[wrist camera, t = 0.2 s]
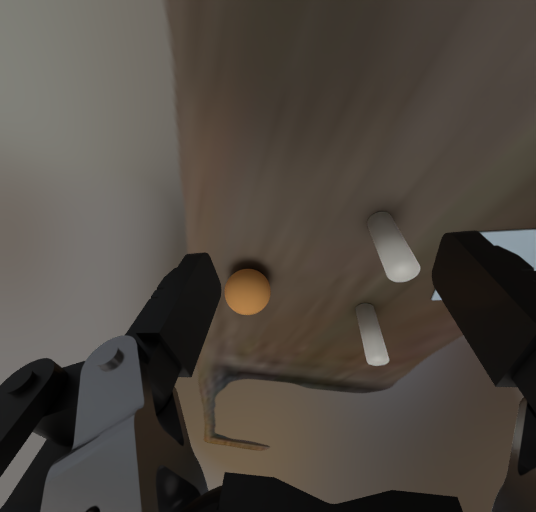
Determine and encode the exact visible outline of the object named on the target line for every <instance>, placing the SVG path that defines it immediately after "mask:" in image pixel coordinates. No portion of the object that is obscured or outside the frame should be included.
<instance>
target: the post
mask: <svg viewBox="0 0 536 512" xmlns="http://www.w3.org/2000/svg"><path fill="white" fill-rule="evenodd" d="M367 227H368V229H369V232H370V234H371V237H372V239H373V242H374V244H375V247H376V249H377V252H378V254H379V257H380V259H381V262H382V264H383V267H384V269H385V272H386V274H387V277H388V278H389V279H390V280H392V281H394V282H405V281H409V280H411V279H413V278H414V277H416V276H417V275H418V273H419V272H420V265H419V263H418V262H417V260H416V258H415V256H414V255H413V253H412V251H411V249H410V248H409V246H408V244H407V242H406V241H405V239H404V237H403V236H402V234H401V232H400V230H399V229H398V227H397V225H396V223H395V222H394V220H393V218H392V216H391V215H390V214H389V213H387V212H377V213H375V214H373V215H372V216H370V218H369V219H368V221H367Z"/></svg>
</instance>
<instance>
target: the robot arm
mask: <svg viewBox="0 0 536 512" xmlns="http://www.w3.org/2000/svg"><path fill="white" fill-rule="evenodd" d="M432 281H433V285H434V288H435V289H436V291H437V293H438V294H439V296H440V298H441V299H442V301H443V302H444V304H445V306H446V307H447V309H448V311H449V312H450V314H451V315H452V317H453V319H454V320H455V322H456V323H457V325H458V327H459V328H460V330H461V332H462V333H463V335H464V336H465V338H466V340H467V341H468V343H469V344H470V346H471V348H472V349H473V351H474V352H475V354H476V356H477V357H478V359H479V361H480V362H481V364H482V365H483V367H484V369H485V370H486V372H487V374H488V375H489V377H490V378H491V380H492V382H493V383H494V385H495V386H496V387H518V388H519V390H520V391H521V393H522V394H523V396H524V397H523V398H522V400H521V401H520V404H519V409H518V415H517V420H516V426H515V432H514V437H513V443H512V449H511V455H510V461H509V466H508V472H507V476H506V479H505V481H504V484H503V485H502V487H501V488H500V490H499V492H498V494H497V496H496V499H495V502H494V504H493V508H492V512H536V271H534V268H533V267H532V266H531V265H530V264H529V263H527V262H526V261H525V260H524V259H523V258H521V257H520V256H519V255H517V254H515V253H513V252H511V251H509V250H507V249H505V248H503V247H500V246H498V245H495V246H494V245H493V244H492V243H491V242H490V241H489V240H487V239H486V238H485V237H484V236H483V235H482V234H481V233H479V232H478V231H463V232H451V233H445V234H444V235H443V237H442V239H441V242H440V245H439V249H438V252H437V256H436V259H435V263H434V266H433V270H432ZM220 297H221V283H220V280H219V278H218V275H217V273H216V270H215V268H214V265H213V263H212V260H211V258H210V256H209V254H208V253H194V254H187V255H185V257H184V258H183V259H182V261H181V263H180V264H179V266H178V267H177V268H174V269H173V270H172V271H171V272H170V273H169V274H168V275H166V276H165V277H164V278H163V280H162V281H161V283H160V284H159V286H158V287H157V290H155V291H154V293H153V295H152V296H151V299H149V300H148V302H147V303H146V305H145V306H144V308H143V309H142V311H141V312H140V314H139V315H138V317H137V318H136V320H135V321H134V323H133V324H132V325H131V327H130V329H129V330H128V331H127V333H126V334H125V335H124V336H118V337H115V338H112V339H110V340H108V341H106V342H105V343H103V344H102V345H100V346H99V347H98V348H97V349H96V350H95V351H93V352H92V354H91V355H90V356H89V357H88V358H87V360H86V361H83V362H80V363H76V364H73V365H70V366H67V367H63V368H61V367H60V366H59V365H58V364H56V363H55V362H54V361H52V360H51V359H48V358H44V359H39V360H36V361H33V362H31V363H29V364H27V365H25V366H24V367H22V368H20V369H19V370H17V371H16V372H15V373H13V374H12V375H11V376H10V377H9V378H7V379H6V380H5V381H4V382H3V383H2V384H1V385H0V477H1V475H2V474H3V473H4V471H5V470H6V468H7V467H8V466H9V464H10V463H11V461H12V460H13V458H14V457H15V456H16V454H17V453H18V451H19V450H20V449H21V447H22V446H23V444H24V443H25V442H26V440H27V439H28V437H29V436H30V434H31V433H32V432H34V433H36V434H38V435H40V436H42V437H44V438H46V439H47V440H46V441H45V443H44V445H43V446H42V448H41V449H40V451H39V452H38V454H37V455H36V457H35V458H34V460H33V461H32V463H31V464H30V466H29V468H28V469H27V471H26V472H25V474H24V475H23V477H22V478H21V480H20V481H19V483H18V484H17V486H16V487H15V489H14V490H13V492H12V494H11V495H10V496H9V498H8V500H7V501H6V503H5V504H4V505H3V506H2V508H1V509H0V512H463V511H462V508H461V506H460V503H459V500H458V498H457V497H452V496H443V495H433V494H424V493H415V492H406V491H396V490H390V491H386V492H382V493H379V494H375V495H371V496H367V497H363V498H359V499H355V500H351V501H347V502H343V503H339V504H329V503H327V502H324V501H322V500H320V499H318V498H316V497H314V496H312V495H310V494H308V493H306V492H303V491H301V490H299V489H297V488H295V487H293V486H291V485H289V484H287V483H285V482H282V481H281V480H279V479H277V478H274V477H264V476H256V475H246V474H237V473H227V472H225V474H224V479H223V485H222V486H219V487H217V488H215V489H212V490H210V491H208V488H207V483H206V480H205V477H204V474H203V471H202V469H201V466H200V464H199V462H198V460H197V458H196V456H195V455H194V452H193V450H192V447H191V444H190V440H189V437H188V433H187V429H186V424H185V421H184V417H183V413H182V409H181V405H180V401H179V397H178V393H177V391H176V388H175V387H174V386H175V383H176V381H177V378H178V377H192V374H193V371H194V369H195V366H196V363H197V360H198V358H199V355H200V352H201V349H202V347H203V344H204V341H205V338H206V336H207V333H208V330H209V327H210V325H211V322H212V319H213V316H214V314H215V311H216V308H217V305H218V303H219V300H220Z"/></svg>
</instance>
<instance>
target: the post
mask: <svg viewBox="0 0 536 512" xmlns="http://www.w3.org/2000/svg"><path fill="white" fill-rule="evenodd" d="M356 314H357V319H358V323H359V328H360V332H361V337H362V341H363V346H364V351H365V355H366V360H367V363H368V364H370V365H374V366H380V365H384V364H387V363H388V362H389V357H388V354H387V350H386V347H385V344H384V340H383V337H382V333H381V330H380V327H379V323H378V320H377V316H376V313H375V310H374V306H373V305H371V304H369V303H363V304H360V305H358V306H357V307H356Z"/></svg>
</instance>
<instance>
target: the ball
mask: <svg viewBox="0 0 536 512" xmlns="http://www.w3.org/2000/svg"><path fill="white" fill-rule="evenodd" d="M225 298H226V301H227V303H228V305H229V306H230V307H231V308H232V309H233V310H234V311H235V312H237V313H239V314H243V315H251V314H255V313H257V312H259V311H261V310H262V309H263V308H264V307H265V306H266V305H267V303H268V301H269V298H270V285H269V282H268V280H267V279H266V277H265V276H264V275H263V274H262V273H260V272H259V271H257V270H254V269H242V270H239V271H237V272H235V273H234V274H233V275H232V276H231V277H230V278H229V279H228V281H227V283H226V286H225Z"/></svg>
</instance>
